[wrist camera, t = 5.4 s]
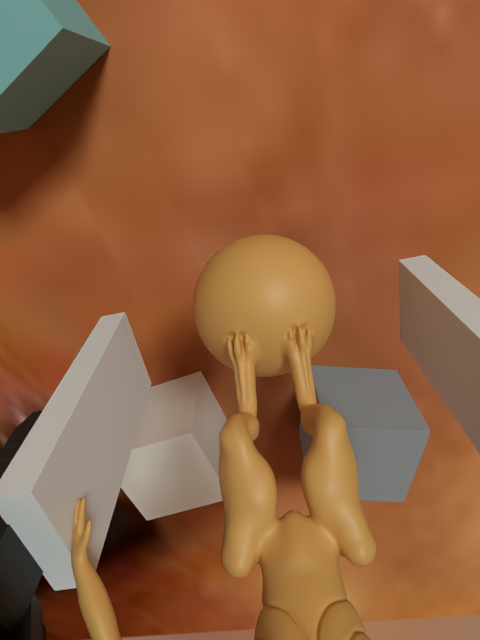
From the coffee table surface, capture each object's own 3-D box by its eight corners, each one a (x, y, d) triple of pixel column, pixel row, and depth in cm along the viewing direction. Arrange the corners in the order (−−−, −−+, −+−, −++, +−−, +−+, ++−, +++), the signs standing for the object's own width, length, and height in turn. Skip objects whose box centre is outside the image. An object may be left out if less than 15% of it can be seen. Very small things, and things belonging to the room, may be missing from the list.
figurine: (390, 200, 12) (1372, 811, 2) (384, 366, 15) (739, 989, 5) (118, 236, 13) (-459, 921, 2) (161, 392, 15) (7, 1021, 5)
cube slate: (298, 429, 26) (309, 497, 22) (309, 364, 24) (324, 425, 19) (376, 433, 26) (404, 502, 22) (396, 369, 24) (430, 431, 19)
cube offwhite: (162, 451, 27) (147, 520, 23) (124, 395, 25) (99, 460, 20) (233, 430, 26) (231, 498, 22) (200, 370, 24) (191, 432, 19)
